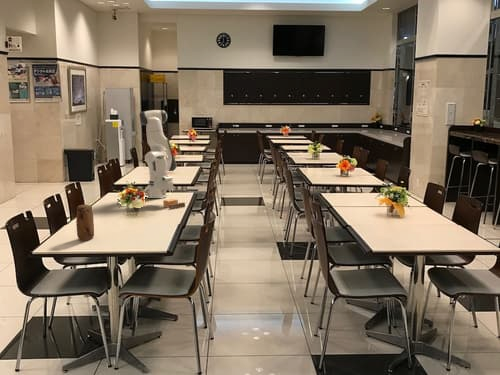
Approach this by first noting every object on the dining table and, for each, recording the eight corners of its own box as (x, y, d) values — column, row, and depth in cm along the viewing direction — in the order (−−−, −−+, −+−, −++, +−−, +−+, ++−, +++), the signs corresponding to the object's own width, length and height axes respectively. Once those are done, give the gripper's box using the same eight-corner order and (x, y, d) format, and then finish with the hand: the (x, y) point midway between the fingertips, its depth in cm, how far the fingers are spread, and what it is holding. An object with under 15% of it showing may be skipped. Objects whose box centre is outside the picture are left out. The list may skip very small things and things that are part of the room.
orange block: (163, 207, 390) (163, 200, 389) (172, 205, 397) (172, 198, 396) (168, 208, 386) (168, 201, 385) (177, 206, 393) (177, 199, 392)
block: (83, 236, 308) (81, 203, 304) (95, 236, 307) (93, 203, 304) (75, 241, 297) (73, 207, 294) (88, 242, 297) (86, 207, 293)
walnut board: (169, 209, 382) (169, 205, 381) (183, 206, 391) (183, 202, 390) (171, 209, 380) (170, 205, 380) (185, 206, 389) (184, 202, 389)
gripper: (151, 177, 397) (152, 194, 400) (167, 178, 383) (168, 197, 385) (157, 175, 402) (159, 193, 404) (173, 177, 387) (175, 195, 390)
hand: (164, 195), depth 395 cm, fingers closed
